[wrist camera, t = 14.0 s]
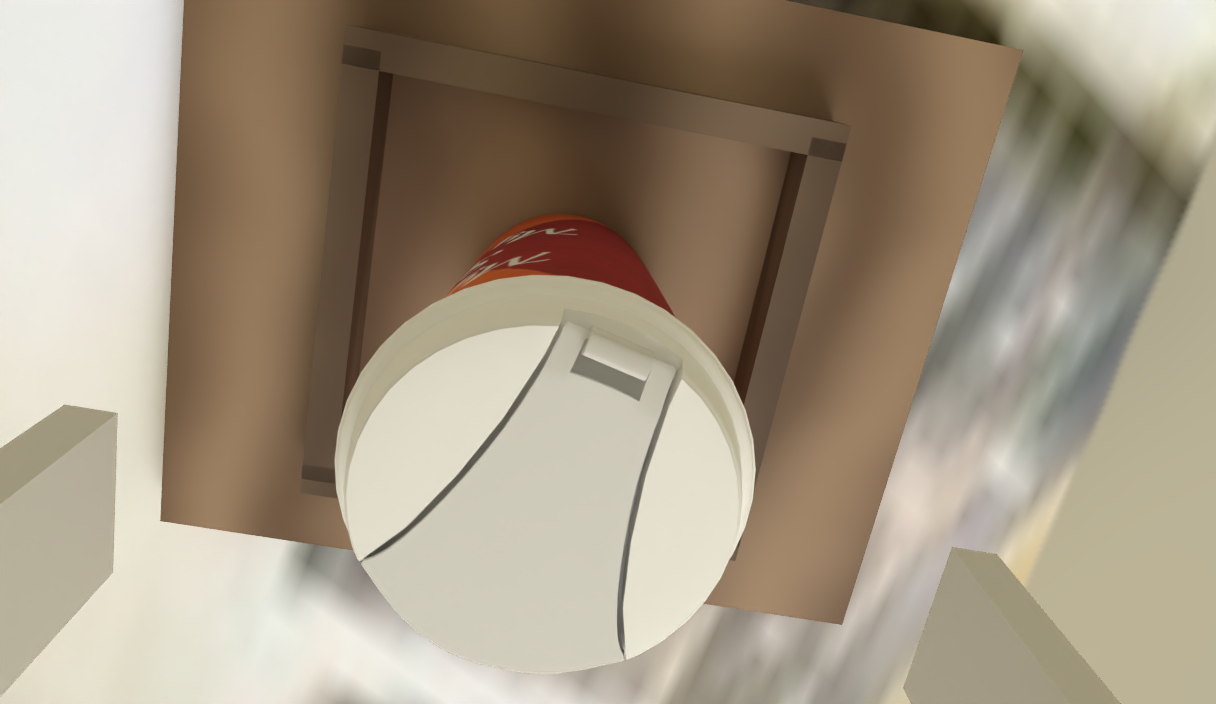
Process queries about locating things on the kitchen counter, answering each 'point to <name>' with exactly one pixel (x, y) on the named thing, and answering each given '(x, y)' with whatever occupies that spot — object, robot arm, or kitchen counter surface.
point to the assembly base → (579, 185)
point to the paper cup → (546, 458)
